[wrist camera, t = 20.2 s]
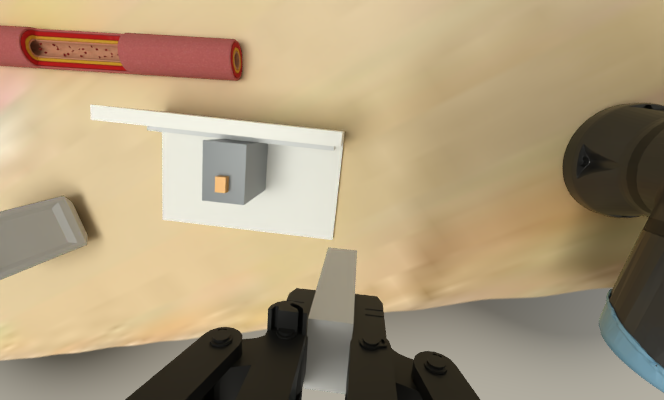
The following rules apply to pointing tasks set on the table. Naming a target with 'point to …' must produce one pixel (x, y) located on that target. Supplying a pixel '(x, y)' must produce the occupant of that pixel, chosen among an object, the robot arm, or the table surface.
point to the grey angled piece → (38, 234)
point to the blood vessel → (121, 53)
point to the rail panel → (281, 177)
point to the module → (233, 170)
